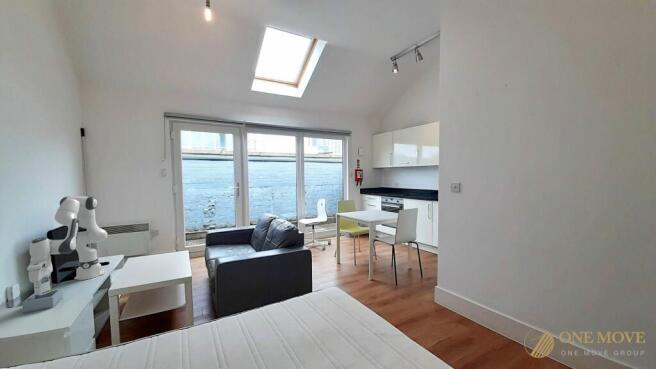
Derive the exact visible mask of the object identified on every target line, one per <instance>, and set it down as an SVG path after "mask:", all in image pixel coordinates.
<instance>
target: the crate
mask: <svg viewBox="0 0 656 369" xmlns="http://www.w3.org/2000/svg"><path fill="white" fill-rule="evenodd" d="M63 295H64V294H63V288H59V289H52V292H49V293H46V294H43V295H35V292H34V293H33V294H31V295H30V296H29V297H27V298H26V299H24V300H23V301H21V306H22V307H21V308H22V314H27V313H33V312H37V311H43V310H47V309H53V308H55V307H56V305H57V304H59V303H60V301H62V300H63V299H64V298H63Z"/></svg>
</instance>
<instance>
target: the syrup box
mask: <svg viewBox="0 0 656 369" xmlns="http://www.w3.org/2000/svg"><path fill="white" fill-rule="evenodd" d="M51 273H52V272H51ZM51 273H50V270H47V271H45V272H44V278H42V279H41V281H40V283H41V286H40V287H36V284H35V282H33V291H34V293H35V295H43V294H46V293H49V292H52V290H53V286H52V276H51V275H52V274H51Z"/></svg>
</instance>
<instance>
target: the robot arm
mask: <svg viewBox="0 0 656 369" xmlns="http://www.w3.org/2000/svg"><path fill="white" fill-rule="evenodd" d="M98 203H99V201H98V199H97V198H96V197H94V196H86V195H85V196H83V195H79V196H78V195H77V196H70V195H69V196H64V197H63V198H61V199H60V201H59V207H58V209H57V210H56V212H55V214H54V220H55V222H56V223H58V224H60V225H62V226H64V227H65V226H66V227H67V228H68V229H67V234H66V237H65V238H64V239H49V238H48V237H39V238H35V239H33V240H31V241H30V244H29V255H30V263H29V265H28V266H27V267H26V270H27V273H28V280H29V283H34V282H35V284H36V287H40V286H41V283H40V281H41V279H42V278H44V272H45V271H47V270H50V273H52V272H53V270H54V269H53V264H52V256H51V255H70V254H72V253H73V252H74V251H76V252H77V254H78V267H77V268H76V276H75V277H74V280H78V281H83V280H84V281H85V280H89V279H90V280H91V279H93V278H96V277H100V276H103V275H105V272H106V270H105V269H106V268H102V264H101V263H100V261H99V257H98V251H97V249H96V248H94V247H89V246H87V245H90V244H96V243H100V242H104V241H106V239H107V238H108V232H107V231H106V229H103V228H101V227H100V226H98V224H97V221H96V219H97V218H96V210H95V209H96V208H97V206H98ZM80 228H82V229H87V230H85V231H80V230H79V229H80Z"/></svg>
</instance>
